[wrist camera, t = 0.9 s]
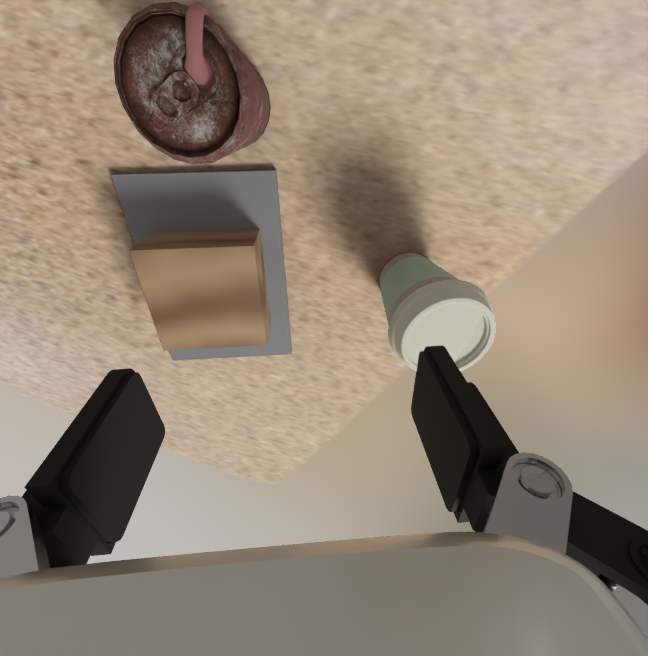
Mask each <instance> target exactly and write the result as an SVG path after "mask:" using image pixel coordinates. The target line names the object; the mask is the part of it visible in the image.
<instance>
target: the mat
mask: <svg viewBox="0 0 648 656" xmlns="http://www.w3.org/2000/svg"><path fill="white" fill-rule="evenodd" d="M111 177H112V180H113V183H114V186H115V189H116V192H117V195H118V198H119V201H120V204H121V207H122V210H123V213H124V216H125V219H126V222H127V225H128V228H129V231H130V234H131V237H132V240H133V243H134V246H136V245H137V244H138V243H140V242H141V241H142V240H144V239H145V238H146V237H147V236H149V235H150V234H151V233H161V232H190V231H218V230H247V229H260V236H261V244H262V252H263V261H264V269H265V277H266V285H267V294H268V302H269V310H270V318H271V320H270V327H269V334H268V342H267V345H259V346H240V347H221V348H201V349H182V350H170V353H171V356H172V359H173V360H190V359H209V358H228V357H247V356H266V355H284V354H292V348H291V337H290V325H289V313H288V302H287V290H286V279H285V267H284V255H283V244H282V232H281V220H280V209H279V197H278V186H277V174H276V170H247V171H210V172H172V173H134V174H112V175H111Z"/></svg>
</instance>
